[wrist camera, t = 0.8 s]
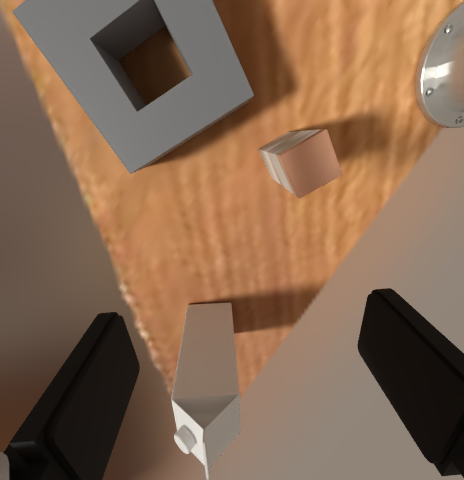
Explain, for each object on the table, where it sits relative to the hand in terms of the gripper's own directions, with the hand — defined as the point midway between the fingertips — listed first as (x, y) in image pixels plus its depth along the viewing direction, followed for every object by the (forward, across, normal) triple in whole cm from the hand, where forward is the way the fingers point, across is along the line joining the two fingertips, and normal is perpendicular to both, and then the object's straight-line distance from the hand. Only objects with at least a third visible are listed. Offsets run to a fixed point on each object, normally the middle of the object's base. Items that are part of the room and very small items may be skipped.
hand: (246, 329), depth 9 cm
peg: (+24, -7, -4) cm, 25 cm away
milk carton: (+24, +5, +21) cm, 32 cm away
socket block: (+24, +6, -13) cm, 28 cm away
